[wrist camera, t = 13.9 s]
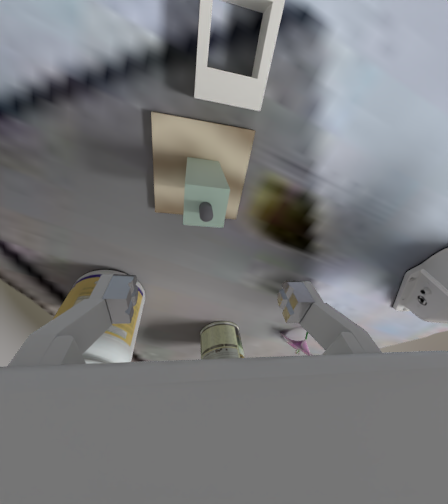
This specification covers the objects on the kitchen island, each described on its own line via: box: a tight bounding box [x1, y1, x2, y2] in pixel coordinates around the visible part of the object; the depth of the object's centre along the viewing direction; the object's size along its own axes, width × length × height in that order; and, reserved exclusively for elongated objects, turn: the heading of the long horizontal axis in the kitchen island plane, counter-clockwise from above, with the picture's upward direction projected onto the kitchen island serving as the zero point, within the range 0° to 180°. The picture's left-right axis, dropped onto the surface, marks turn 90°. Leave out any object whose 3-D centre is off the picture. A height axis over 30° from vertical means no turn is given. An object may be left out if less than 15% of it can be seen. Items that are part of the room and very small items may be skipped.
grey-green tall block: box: [183, 157, 230, 228], centre depth 22 cm, size 4×4×12 cm
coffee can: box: [200, 321, 244, 360], centre depth 47 cm, size 10×10×14 cm
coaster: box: [151, 112, 255, 219], centre depth 27 cm, size 12×12×1 cm
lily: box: [280, 332, 312, 356], centre depth 54 cm, size 12×12×10 cm
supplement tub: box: [53, 270, 145, 364], centre depth 32 cm, size 12×12×17 cm
